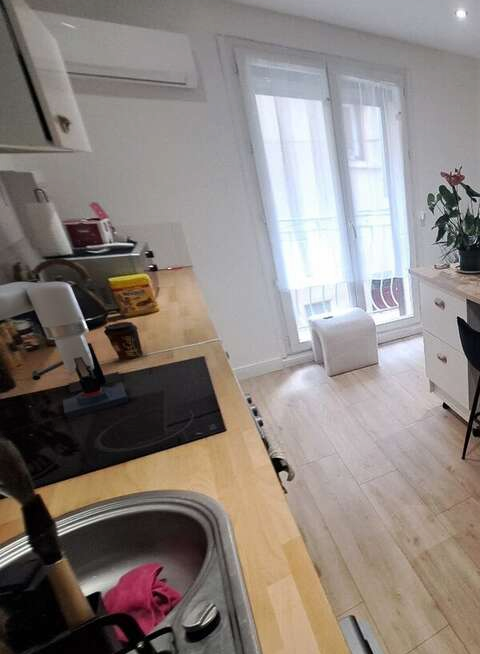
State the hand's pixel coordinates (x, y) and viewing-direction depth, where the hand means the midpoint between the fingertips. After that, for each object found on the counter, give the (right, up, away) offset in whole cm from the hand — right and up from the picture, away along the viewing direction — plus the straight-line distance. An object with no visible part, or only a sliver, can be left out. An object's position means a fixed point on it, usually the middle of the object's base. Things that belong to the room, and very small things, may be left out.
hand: (92, 391), depth 113 cm
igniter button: (0, -2, +1) cm, 2 cm away
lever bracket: (-12, 0, +13) cm, 18 cm away
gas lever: (-15, +7, +7) cm, 18 cm away
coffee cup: (-19, +7, +31) cm, 37 cm away
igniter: (0, -4, +1) cm, 4 cm away
